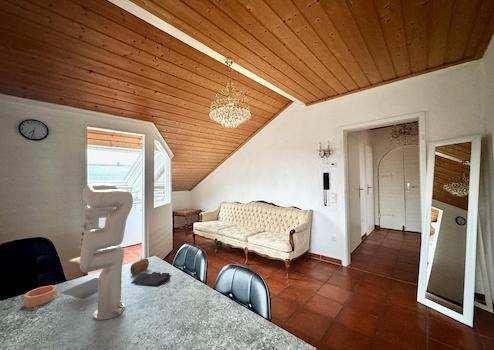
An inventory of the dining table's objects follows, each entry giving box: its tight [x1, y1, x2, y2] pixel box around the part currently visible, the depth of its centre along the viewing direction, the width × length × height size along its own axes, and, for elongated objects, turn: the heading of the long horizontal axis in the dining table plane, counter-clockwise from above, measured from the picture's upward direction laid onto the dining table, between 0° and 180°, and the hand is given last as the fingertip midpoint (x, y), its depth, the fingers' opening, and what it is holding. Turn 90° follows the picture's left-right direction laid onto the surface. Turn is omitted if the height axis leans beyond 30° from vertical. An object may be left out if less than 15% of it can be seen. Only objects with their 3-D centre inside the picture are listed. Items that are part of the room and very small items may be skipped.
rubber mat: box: [59, 277, 99, 300], centre depth 125 cm, size 20×20×1 cm
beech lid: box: [67, 255, 81, 265], centre depth 126 cm, size 15×15×6 cm
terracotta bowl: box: [22, 285, 58, 308], centre depth 112 cm, size 12×12×5 cm
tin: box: [129, 258, 150, 276], centre depth 147 cm, size 15×3×8 cm, turn 164°
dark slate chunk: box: [130, 271, 172, 288], centre depth 135 cm, size 15×22×5 cm
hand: (90, 255), depth 126 cm, fingers closed on beech lid, 4 cm apart
